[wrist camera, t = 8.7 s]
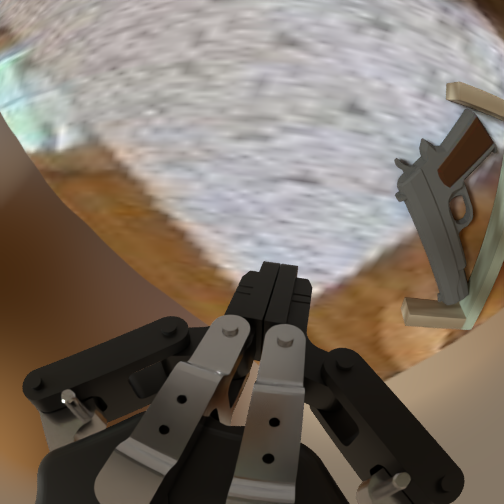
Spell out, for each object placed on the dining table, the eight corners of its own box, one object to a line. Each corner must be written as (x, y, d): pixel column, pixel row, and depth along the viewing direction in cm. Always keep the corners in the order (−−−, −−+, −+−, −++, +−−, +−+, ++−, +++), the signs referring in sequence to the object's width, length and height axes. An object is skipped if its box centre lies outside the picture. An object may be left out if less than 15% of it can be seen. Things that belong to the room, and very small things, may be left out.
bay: (446, 83, 17) (459, 81, 14) (518, 112, 15) (534, 115, 12) (400, 308, 29) (405, 325, 26) (463, 313, 27) (470, 329, 24)
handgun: (513, 254, 22) (436, 298, 28) (469, 103, 17) (373, 155, 23) (523, 266, 20) (442, 313, 26) (482, 104, 15) (378, 161, 21)
